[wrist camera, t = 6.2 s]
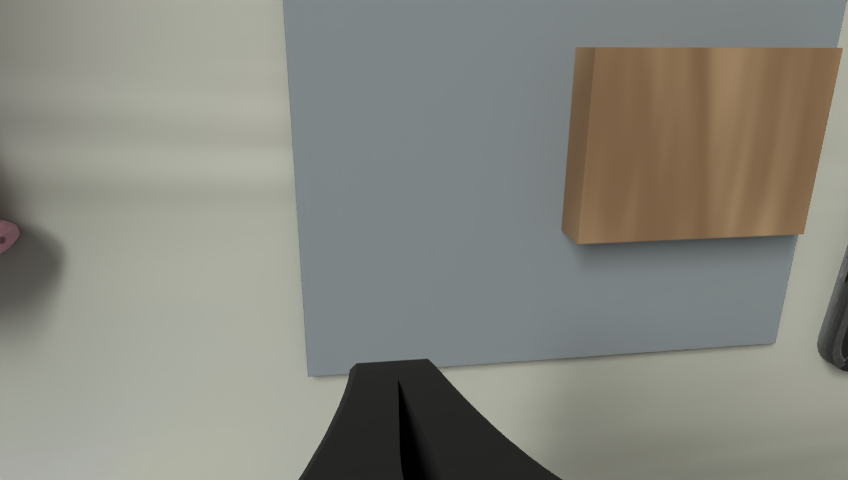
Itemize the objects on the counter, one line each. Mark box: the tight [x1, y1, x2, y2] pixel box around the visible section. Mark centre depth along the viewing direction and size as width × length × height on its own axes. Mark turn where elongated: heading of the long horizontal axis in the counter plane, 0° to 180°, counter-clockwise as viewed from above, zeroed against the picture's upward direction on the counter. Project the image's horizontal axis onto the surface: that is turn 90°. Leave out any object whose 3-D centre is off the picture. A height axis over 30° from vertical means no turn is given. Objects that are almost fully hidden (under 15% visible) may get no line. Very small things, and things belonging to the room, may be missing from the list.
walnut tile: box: [561, 47, 843, 244], centre depth 19 cm, size 2×6×8 cm
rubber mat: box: [283, 0, 847, 377], centre depth 20 cm, size 18×16×1 cm
